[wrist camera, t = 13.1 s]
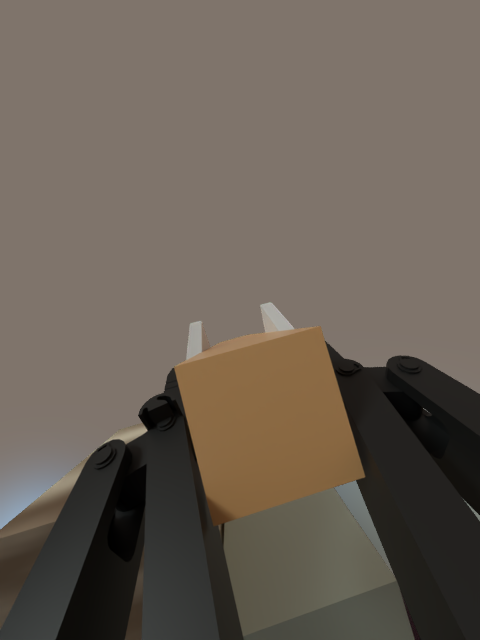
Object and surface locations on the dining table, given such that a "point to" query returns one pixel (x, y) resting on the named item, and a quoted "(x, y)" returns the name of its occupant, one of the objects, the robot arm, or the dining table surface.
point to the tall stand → (35, 526)
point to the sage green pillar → (311, 575)
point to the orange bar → (266, 421)
